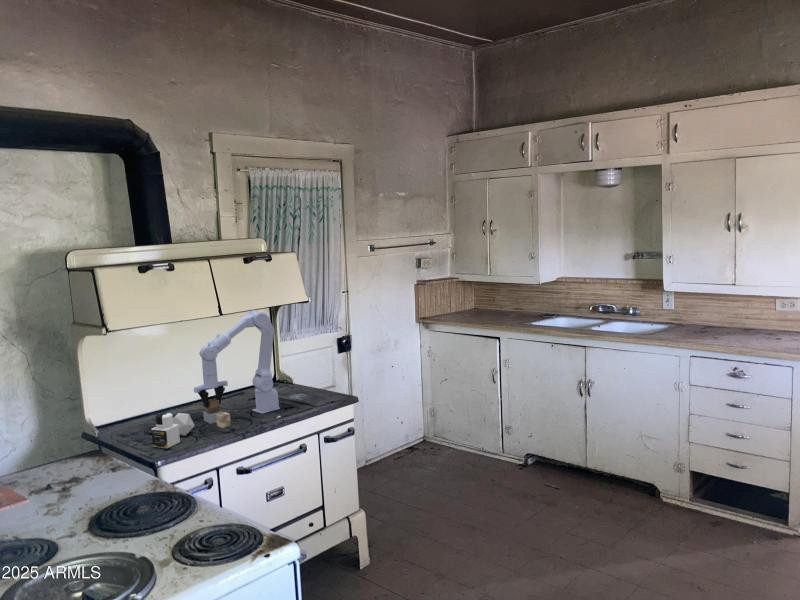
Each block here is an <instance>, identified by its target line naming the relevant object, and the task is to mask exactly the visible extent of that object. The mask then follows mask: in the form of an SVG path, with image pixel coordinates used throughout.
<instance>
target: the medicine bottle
mask: <svg viewBox="0 0 800 600" xmlns="http://www.w3.org/2000/svg"><path fill="white" fill-rule="evenodd" d="M173 416H174V415H173V414H172V413H171V412H161V413H158V414H156V415H155V427H153V428H151V443H152V447H153V448H162V449H169V448H172V447H174V446H175V445H177V444H179V443H181V438H180V436H181V435H179V425H178V424H173V418H174V417H173Z"/></svg>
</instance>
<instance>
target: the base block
mask: <svg viewBox="0 0 800 600" xmlns="http://www.w3.org/2000/svg"><path fill="white" fill-rule="evenodd" d="M223 412H224V411H222V410H220V412H217V413H213V414H210V413H207V412H206V411H203V412H202V414H203V421H204V422H205V423H208V424H216V423H217V420H216V414H220V413H223Z"/></svg>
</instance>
